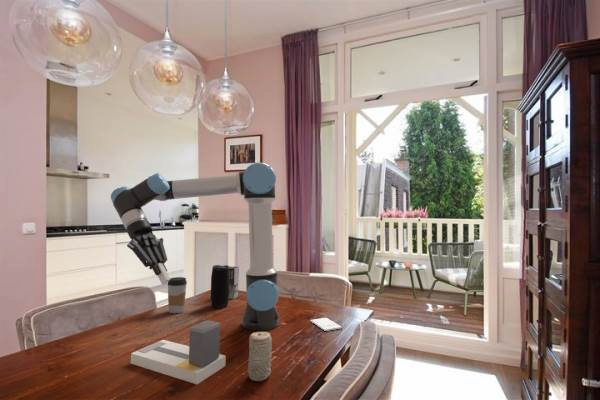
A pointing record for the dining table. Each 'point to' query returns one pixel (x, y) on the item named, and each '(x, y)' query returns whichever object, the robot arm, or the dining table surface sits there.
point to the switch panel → (174, 361)
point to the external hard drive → (325, 324)
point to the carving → (259, 356)
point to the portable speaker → (220, 286)
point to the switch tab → (204, 343)
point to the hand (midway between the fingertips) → (166, 281)
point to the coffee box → (233, 282)
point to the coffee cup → (176, 294)
